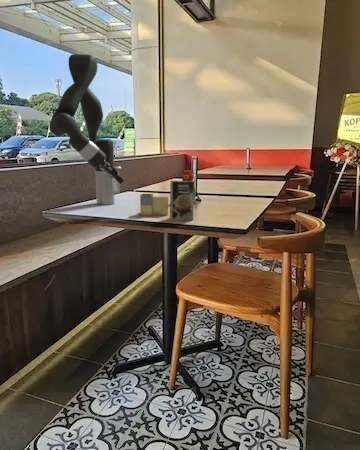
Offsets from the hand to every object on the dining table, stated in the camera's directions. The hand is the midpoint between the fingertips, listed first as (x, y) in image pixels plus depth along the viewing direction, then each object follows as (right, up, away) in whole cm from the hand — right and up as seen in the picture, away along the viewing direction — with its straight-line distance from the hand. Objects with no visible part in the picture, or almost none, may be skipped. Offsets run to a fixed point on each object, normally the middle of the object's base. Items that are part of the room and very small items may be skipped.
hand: (120, 181), depth 161 cm
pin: (-2, -5, 0) cm, 5 cm away
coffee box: (+27, -17, -6) cm, 32 cm away
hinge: (+15, -14, +7) cm, 21 cm away
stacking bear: (+30, -7, +39) cm, 50 cm away
